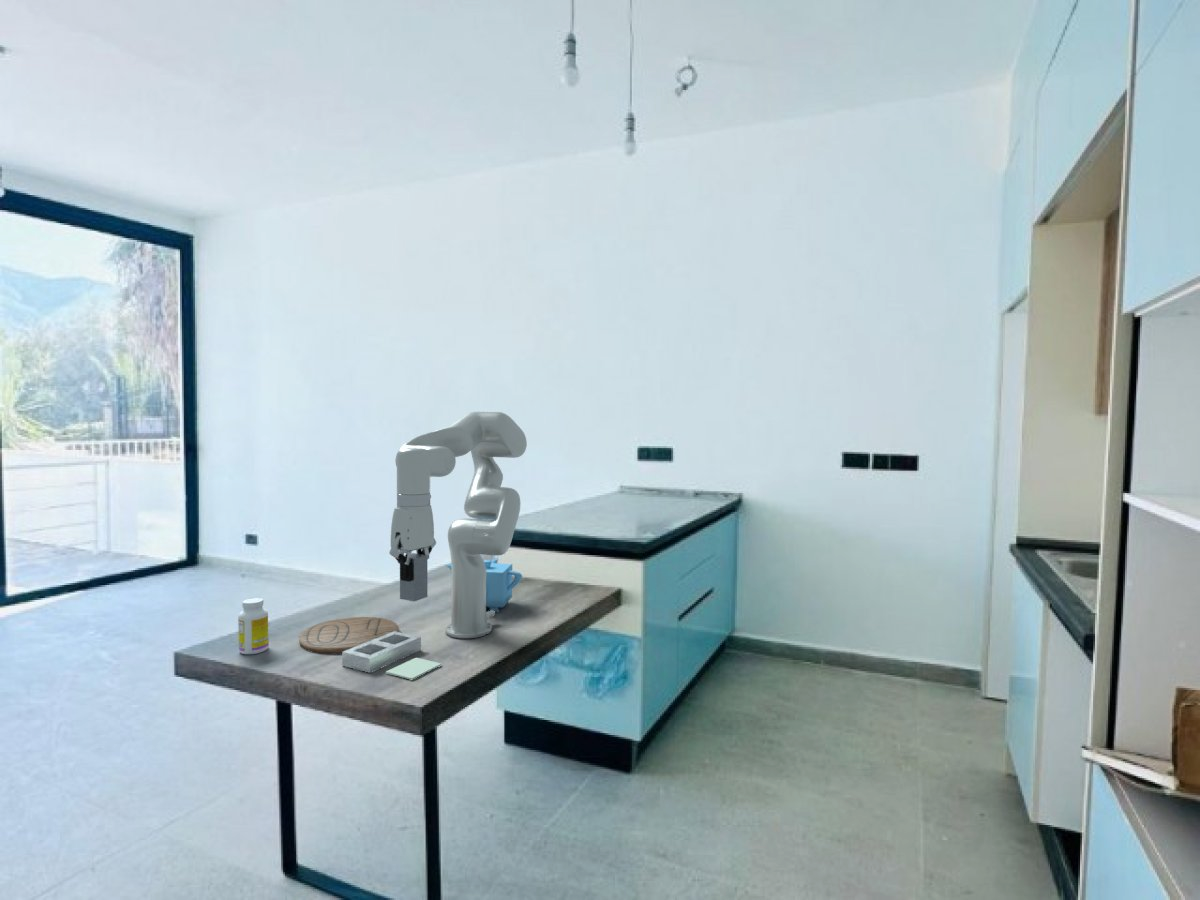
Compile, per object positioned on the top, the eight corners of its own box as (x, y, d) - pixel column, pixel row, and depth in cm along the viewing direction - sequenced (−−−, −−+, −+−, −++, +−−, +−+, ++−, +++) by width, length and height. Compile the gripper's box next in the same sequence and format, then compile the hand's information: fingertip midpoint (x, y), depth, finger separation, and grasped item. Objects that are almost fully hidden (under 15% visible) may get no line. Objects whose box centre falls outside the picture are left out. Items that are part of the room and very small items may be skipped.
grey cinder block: (394, 644, 170) (394, 631, 170) (420, 650, 166) (420, 636, 166) (342, 666, 155) (342, 651, 155) (369, 673, 151) (369, 658, 151)
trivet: (395, 619, 192) (395, 613, 191) (401, 648, 168) (401, 641, 168) (302, 628, 182) (302, 622, 182) (295, 660, 159) (295, 652, 159)
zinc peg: (413, 594, 155) (413, 553, 155) (427, 596, 153) (427, 555, 153) (399, 598, 152) (399, 556, 151) (414, 601, 150) (414, 558, 149)
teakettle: (526, 608, 203) (526, 562, 203) (472, 619, 191) (473, 570, 191) (495, 595, 218) (495, 551, 217) (443, 604, 206) (443, 559, 205)
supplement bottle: (273, 645, 168) (272, 596, 167) (260, 655, 161) (260, 604, 160) (247, 645, 167) (246, 596, 167) (233, 655, 161) (232, 604, 160)
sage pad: (416, 659, 160) (416, 657, 160) (441, 666, 156) (441, 663, 156) (385, 674, 151) (385, 671, 151) (411, 680, 147) (411, 678, 147)
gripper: (426, 496, 160) (426, 568, 161) (374, 503, 145) (374, 584, 146) (450, 498, 157) (450, 572, 158) (399, 506, 142) (399, 588, 143)
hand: (413, 577), depth 152 cm, fingers closed on zinc peg, 4 cm apart
